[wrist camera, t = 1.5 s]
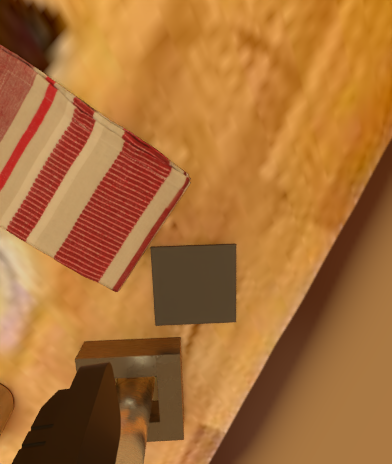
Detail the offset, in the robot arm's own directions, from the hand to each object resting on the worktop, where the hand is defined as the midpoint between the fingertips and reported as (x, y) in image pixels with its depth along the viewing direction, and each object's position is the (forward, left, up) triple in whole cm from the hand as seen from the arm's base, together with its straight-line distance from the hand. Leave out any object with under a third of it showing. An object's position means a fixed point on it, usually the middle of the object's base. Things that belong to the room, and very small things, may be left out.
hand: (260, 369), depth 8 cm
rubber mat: (-1, -9, -27) cm, 29 cm away
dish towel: (-15, +4, -28) cm, 32 cm away
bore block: (-9, -22, -27) cm, 36 cm away
